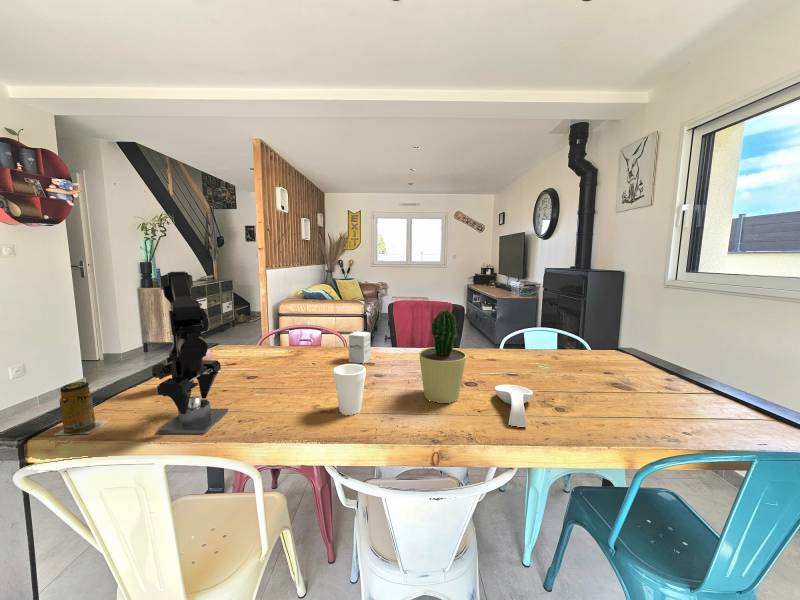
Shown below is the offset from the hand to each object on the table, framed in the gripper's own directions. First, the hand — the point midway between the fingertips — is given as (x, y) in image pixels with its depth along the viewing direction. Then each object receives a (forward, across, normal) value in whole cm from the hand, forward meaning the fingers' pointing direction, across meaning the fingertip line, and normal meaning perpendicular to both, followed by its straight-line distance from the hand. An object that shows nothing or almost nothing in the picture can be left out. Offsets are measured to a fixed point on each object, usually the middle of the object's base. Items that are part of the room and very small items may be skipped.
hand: (194, 405), depth 89 cm
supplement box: (+5, -53, +40) cm, 67 cm away
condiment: (+5, +3, -28) cm, 29 cm away
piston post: (+5, 0, 0) cm, 5 cm away
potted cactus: (+5, -17, +71) cm, 73 cm away
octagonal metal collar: (+4, 0, 0) cm, 4 cm away
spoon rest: (+5, -8, +93) cm, 93 cm away
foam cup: (+5, -7, +42) cm, 43 cm away
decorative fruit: (+5, -42, -24) cm, 49 cm away
